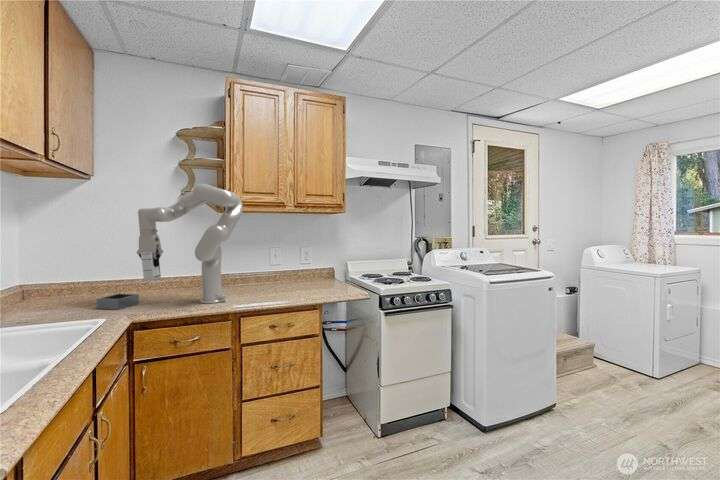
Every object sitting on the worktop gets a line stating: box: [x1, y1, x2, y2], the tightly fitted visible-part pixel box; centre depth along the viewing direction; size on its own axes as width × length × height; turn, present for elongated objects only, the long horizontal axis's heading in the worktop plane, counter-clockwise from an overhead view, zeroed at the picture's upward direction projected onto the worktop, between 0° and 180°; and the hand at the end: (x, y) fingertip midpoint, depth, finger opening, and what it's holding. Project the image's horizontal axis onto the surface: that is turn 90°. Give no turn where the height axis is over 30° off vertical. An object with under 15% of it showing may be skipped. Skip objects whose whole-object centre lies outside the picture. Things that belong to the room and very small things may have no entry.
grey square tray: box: [96, 293, 140, 311], centre depth 179 cm, size 12×12×5 cm
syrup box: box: [140, 252, 162, 281], centre depth 184 cm, size 6×6×14 cm
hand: (151, 266), depth 184 cm, fingers closed on syrup box, 6 cm apart
